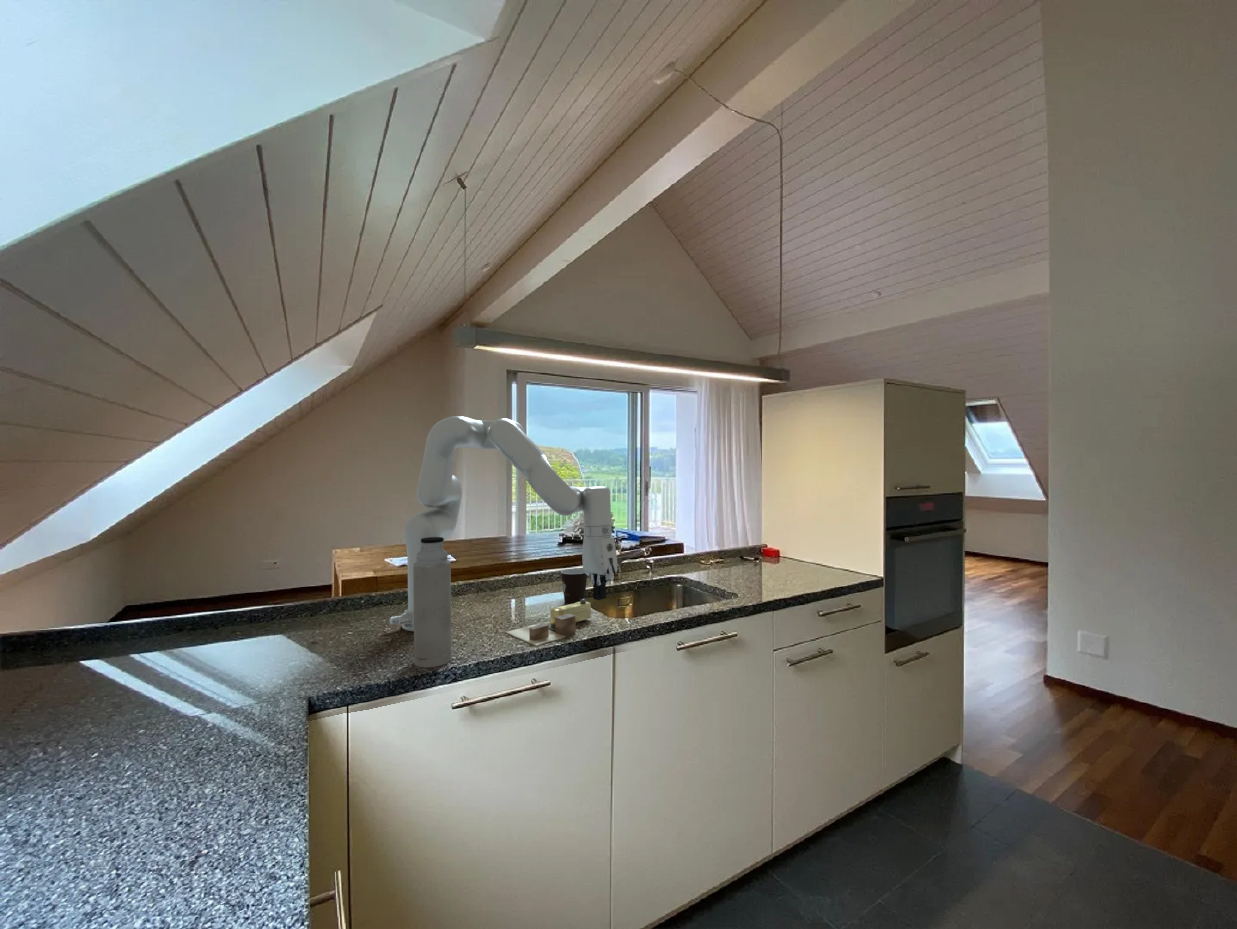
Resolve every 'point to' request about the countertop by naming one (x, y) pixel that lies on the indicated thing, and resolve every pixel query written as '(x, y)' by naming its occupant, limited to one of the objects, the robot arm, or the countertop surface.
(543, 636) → the block
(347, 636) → the countertop surface
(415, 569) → the thermos bottle
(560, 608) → the lock bar
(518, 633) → the beige square plate
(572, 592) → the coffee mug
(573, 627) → the block
